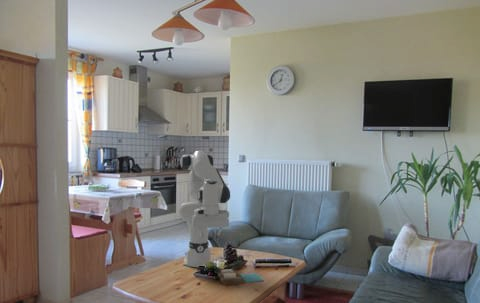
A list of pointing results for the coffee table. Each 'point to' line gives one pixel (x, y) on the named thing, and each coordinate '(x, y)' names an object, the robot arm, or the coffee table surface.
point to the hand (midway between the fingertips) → (210, 235)
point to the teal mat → (251, 277)
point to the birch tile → (228, 273)
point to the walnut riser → (231, 279)
